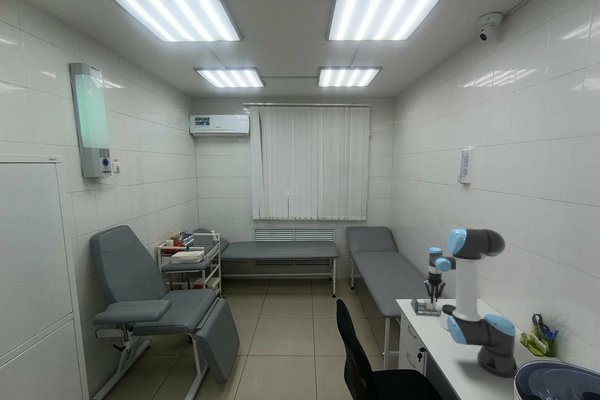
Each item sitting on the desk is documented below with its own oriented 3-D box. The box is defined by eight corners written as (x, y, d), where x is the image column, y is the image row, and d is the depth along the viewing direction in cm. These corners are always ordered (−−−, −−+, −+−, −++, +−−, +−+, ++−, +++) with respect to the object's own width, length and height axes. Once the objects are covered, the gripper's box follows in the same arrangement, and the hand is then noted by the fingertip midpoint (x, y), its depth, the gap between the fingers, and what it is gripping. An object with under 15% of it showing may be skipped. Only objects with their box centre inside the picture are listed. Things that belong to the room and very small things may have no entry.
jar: (454, 333, 149) (455, 313, 148) (439, 327, 155) (439, 308, 154) (459, 326, 156) (460, 307, 154) (444, 321, 161) (445, 302, 160)
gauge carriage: (434, 312, 168) (435, 306, 167) (428, 311, 168) (428, 306, 168) (430, 305, 176) (430, 299, 175) (424, 305, 176) (424, 299, 176)
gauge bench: (439, 316, 166) (440, 305, 165) (416, 315, 169) (416, 304, 168) (432, 304, 180) (432, 294, 179) (410, 303, 182) (410, 293, 181)
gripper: (443, 269, 173) (442, 303, 176) (422, 269, 175) (421, 302, 178) (448, 274, 165) (446, 310, 168) (426, 273, 168) (424, 308, 171)
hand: (433, 306), depth 173 cm, fingers closed
